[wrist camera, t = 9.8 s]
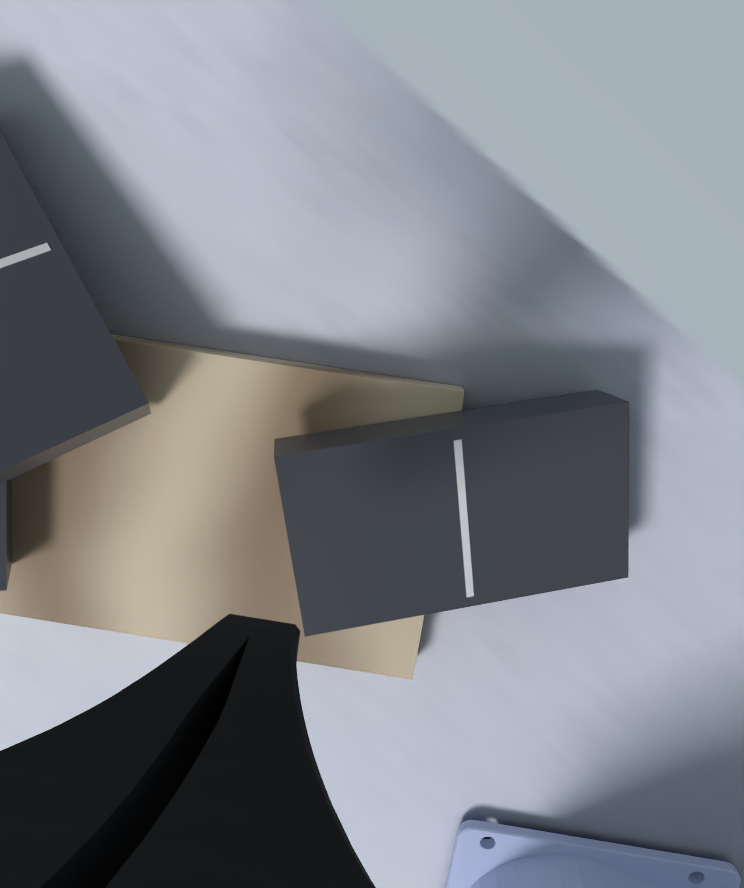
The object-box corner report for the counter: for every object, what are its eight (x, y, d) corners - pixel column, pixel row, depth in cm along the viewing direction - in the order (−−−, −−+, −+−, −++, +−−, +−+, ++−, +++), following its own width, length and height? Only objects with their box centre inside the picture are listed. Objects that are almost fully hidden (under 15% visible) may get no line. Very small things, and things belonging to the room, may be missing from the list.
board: (461, 386, 18) (465, 392, 17) (412, 660, 20) (412, 679, 19) (-248, 280, 18) (-286, 279, 17) (-217, 559, 20) (-249, 572, 19)
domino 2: (274, 438, 16) (597, 389, 17) (302, 604, 18) (599, 551, 19) (273, 456, 15) (628, 402, 16) (304, 637, 16) (628, 577, 17)
